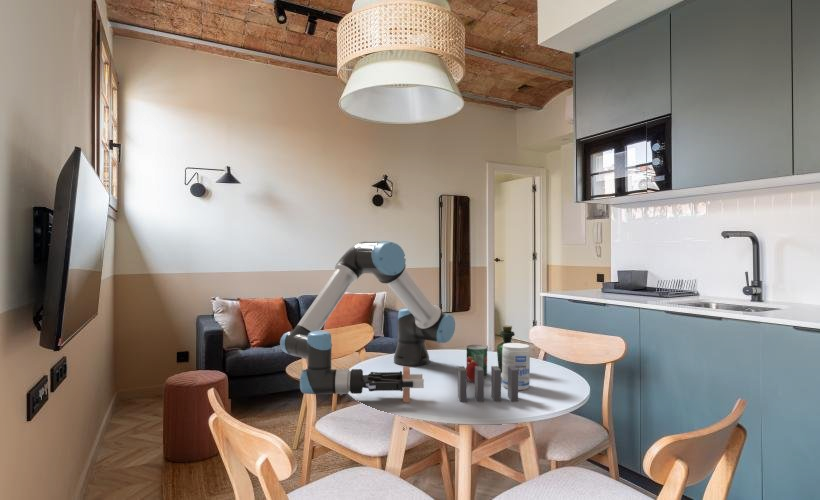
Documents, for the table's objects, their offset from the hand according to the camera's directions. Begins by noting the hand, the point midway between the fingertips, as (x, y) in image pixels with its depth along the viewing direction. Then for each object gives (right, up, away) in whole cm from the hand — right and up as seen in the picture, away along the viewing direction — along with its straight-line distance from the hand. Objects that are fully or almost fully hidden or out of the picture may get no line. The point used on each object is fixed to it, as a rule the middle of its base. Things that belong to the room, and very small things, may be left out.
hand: (422, 380), depth 150 cm
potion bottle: (+34, -6, +35) cm, 49 cm away
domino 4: (+29, -6, +1) cm, 30 cm away
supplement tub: (+33, -6, +14) cm, 37 cm away
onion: (+19, -6, +20) cm, 28 cm away
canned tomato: (+21, -6, +29) cm, 37 cm away
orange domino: (-5, -6, 0) cm, 8 cm away
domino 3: (+24, -6, +1) cm, 25 cm away
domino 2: (+18, -6, +1) cm, 19 cm away
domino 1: (+13, -6, +1) cm, 14 cm away
